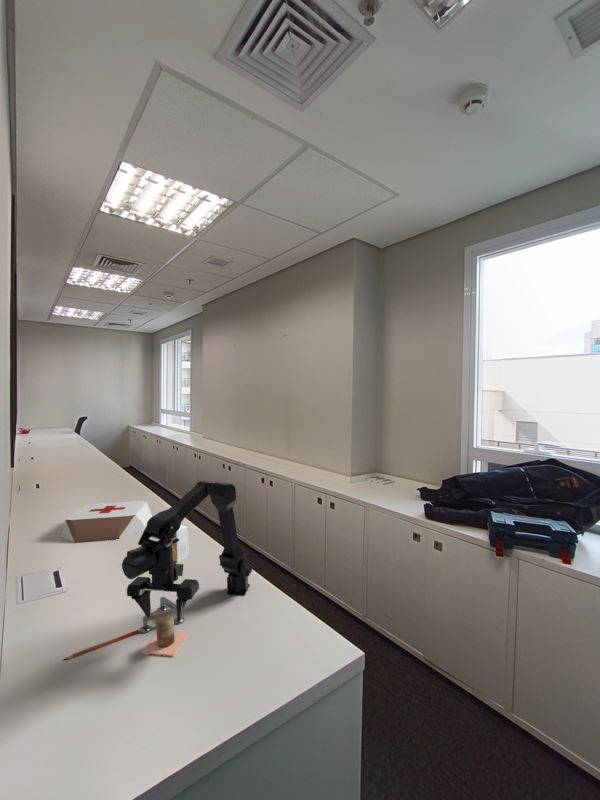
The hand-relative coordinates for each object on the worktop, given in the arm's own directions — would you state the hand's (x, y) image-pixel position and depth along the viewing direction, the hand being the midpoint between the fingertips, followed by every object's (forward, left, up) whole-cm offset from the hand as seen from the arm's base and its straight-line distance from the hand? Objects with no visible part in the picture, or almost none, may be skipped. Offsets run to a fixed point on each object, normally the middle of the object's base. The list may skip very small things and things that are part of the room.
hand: (164, 617), depth 105 cm
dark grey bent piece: (+5, -10, -8) cm, 14 cm away
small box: (+22, -51, -8) cm, 56 cm away
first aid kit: (+73, -80, -8) cm, 109 cm away
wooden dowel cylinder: (0, 0, -7) cm, 7 cm away
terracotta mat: (0, 0, -8) cm, 8 cm away
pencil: (+17, +2, -8) cm, 19 cm away
